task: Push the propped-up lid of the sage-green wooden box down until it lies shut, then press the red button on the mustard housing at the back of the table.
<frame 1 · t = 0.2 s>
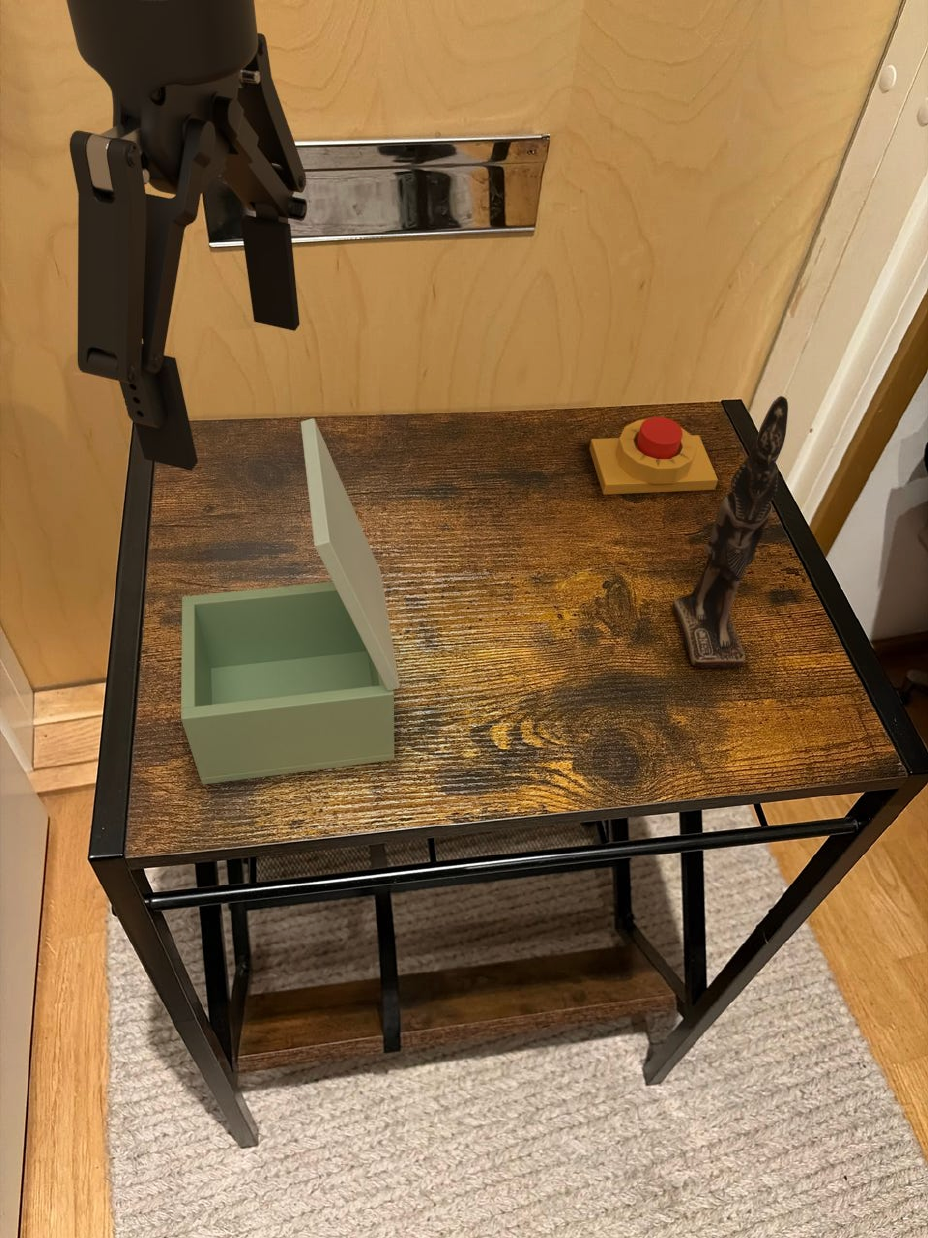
hand: (228, 387, 54), 21 cm above the table, tool pointing down, fingers open, 13 cm apart
hatch lid: (352, 560, 54), point 15 cm above the table, hinge at 75.0°
statue: (703, 637, 72), on the table
hatch box: (294, 712, 65), on the table
button block: (650, 469, 83), on the table
button: (659, 438, 81), point 4 cm above the table, slide at 0.2 cm
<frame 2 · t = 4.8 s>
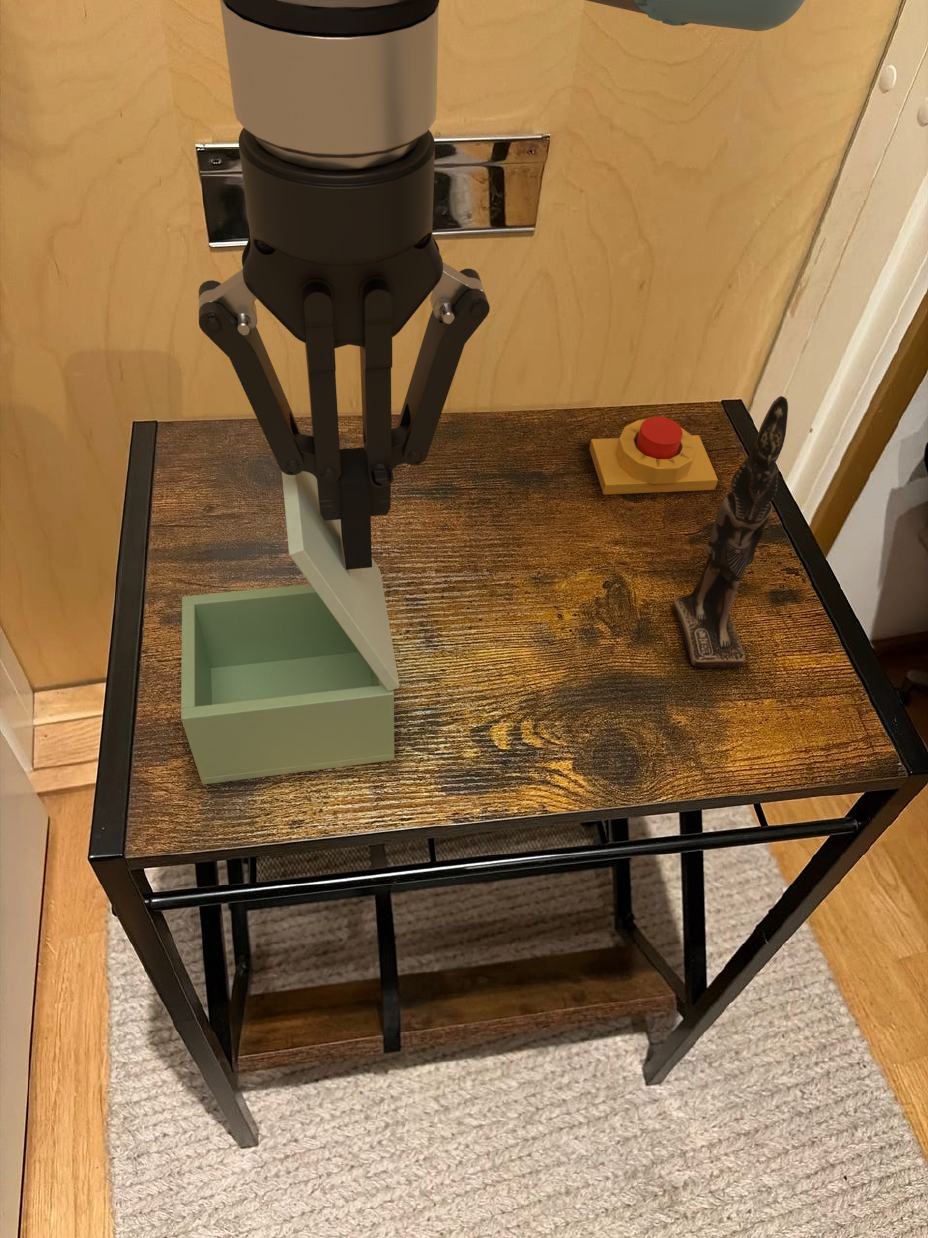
hand: (356, 551, 54), 15 cm above the table, tool pointing down, fingers closed
hatch lid: (341, 563, 55), point 15 cm above the table, hinge at 69.2°, touching gripper
everything else where it was.
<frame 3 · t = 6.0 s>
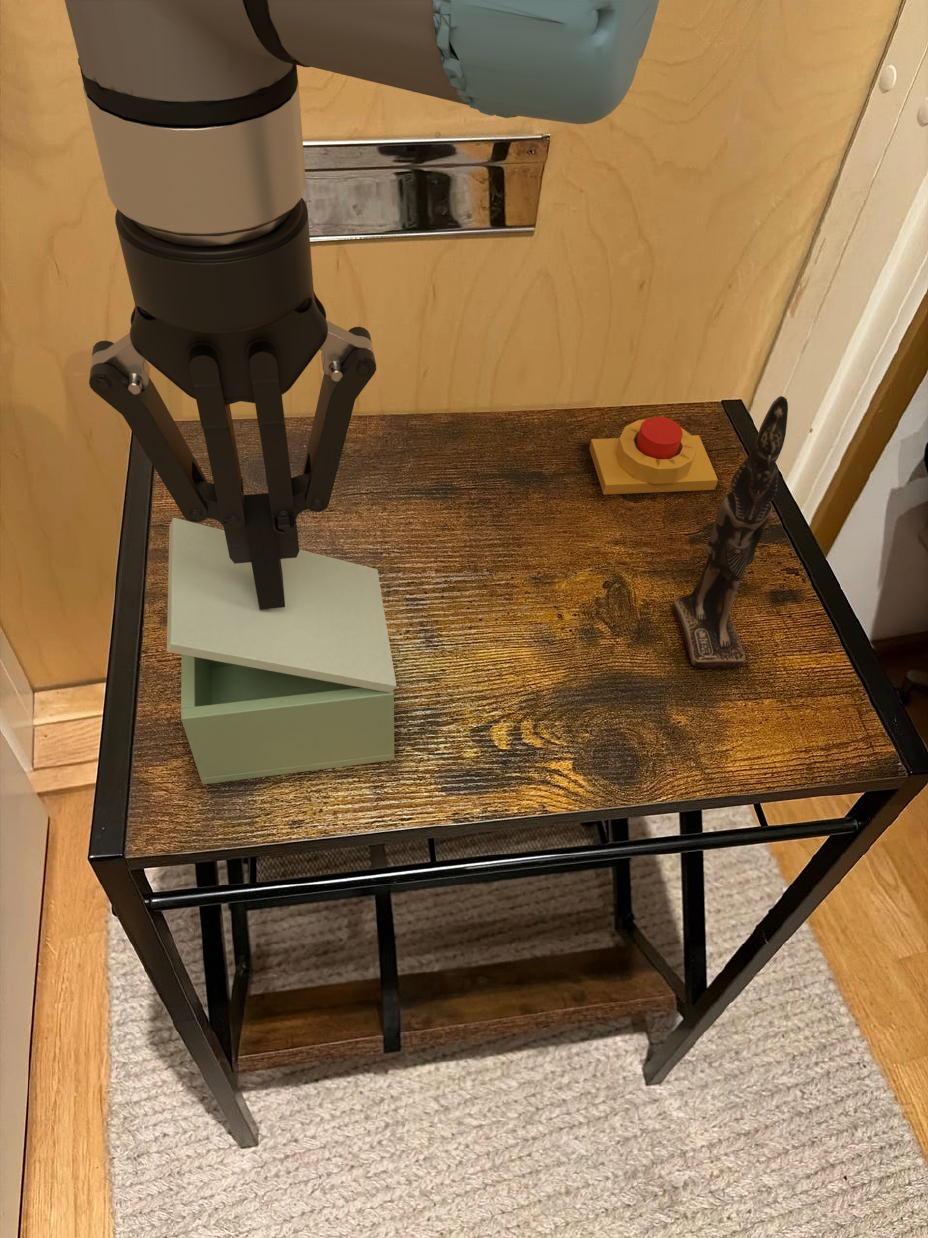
hand: (271, 590, 55), 13 cm above the table, tool pointing down, fingers closed
hatch lid: (283, 606, 56), point 11 cm above the table, hinge at 27.5°, touching gripper
everything else where it was.
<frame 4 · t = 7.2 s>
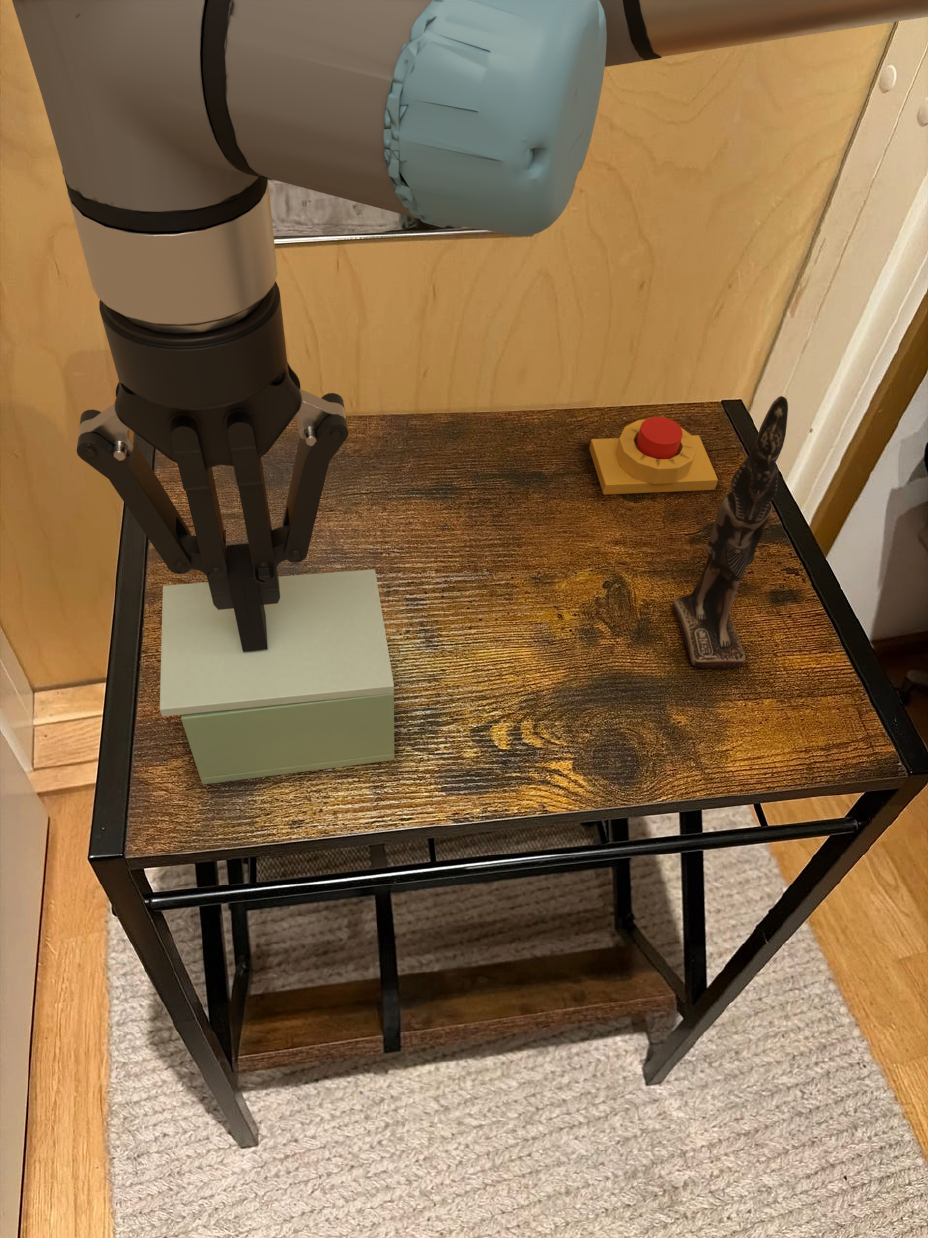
hand: (254, 633, 58), 9 cm above the table, tool pointing down, fingers closed
hatch lid: (275, 638, 59), point 8 cm above the table, hinge at 1.5°, touching gripper
everything else where it was.
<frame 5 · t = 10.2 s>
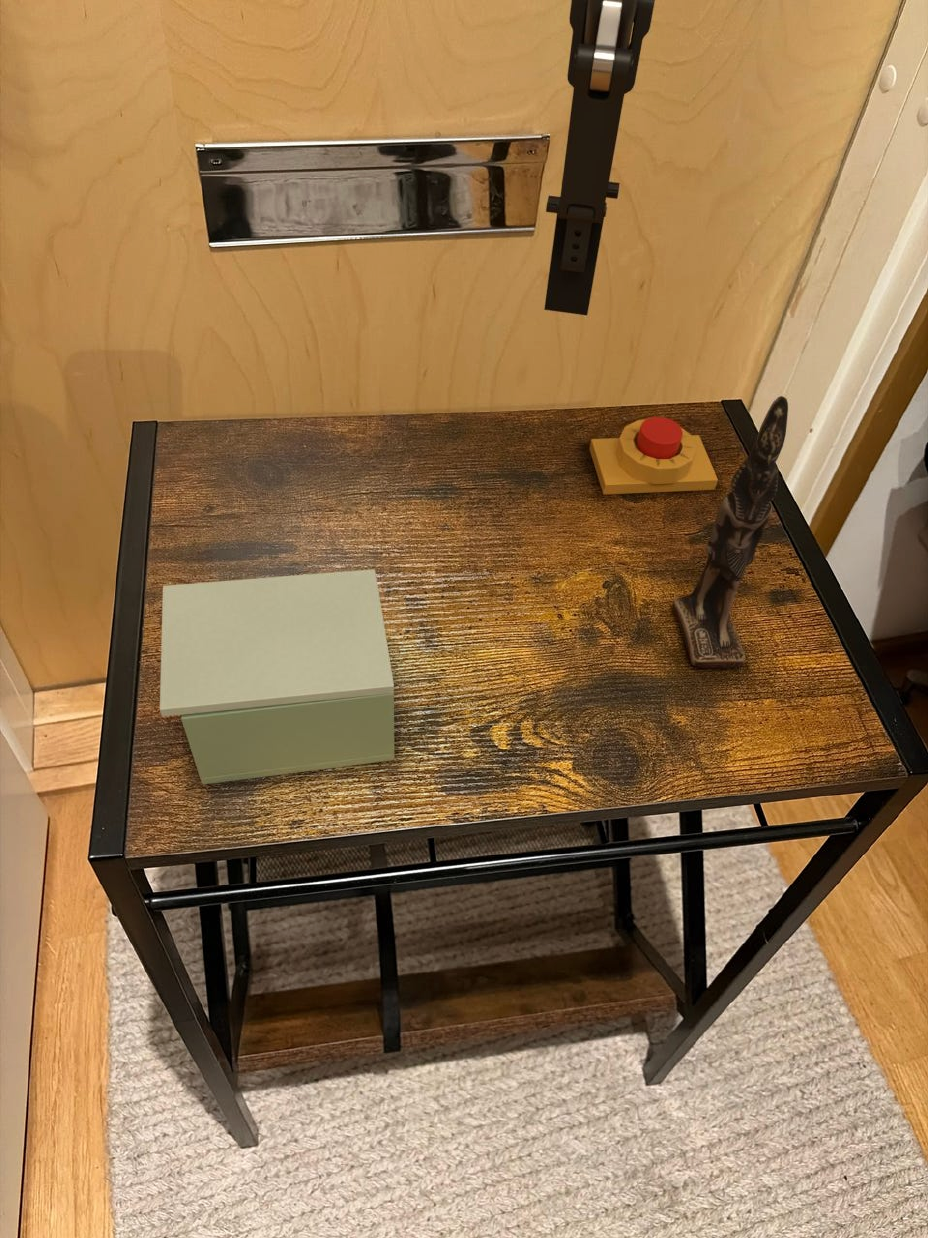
hand: (566, 305, 59), 22 cm above the table, tool pointing down, fingers closed
hatch lid: (275, 638, 59), point 8 cm above the table, hinge at 1.5°
everything else where it was.
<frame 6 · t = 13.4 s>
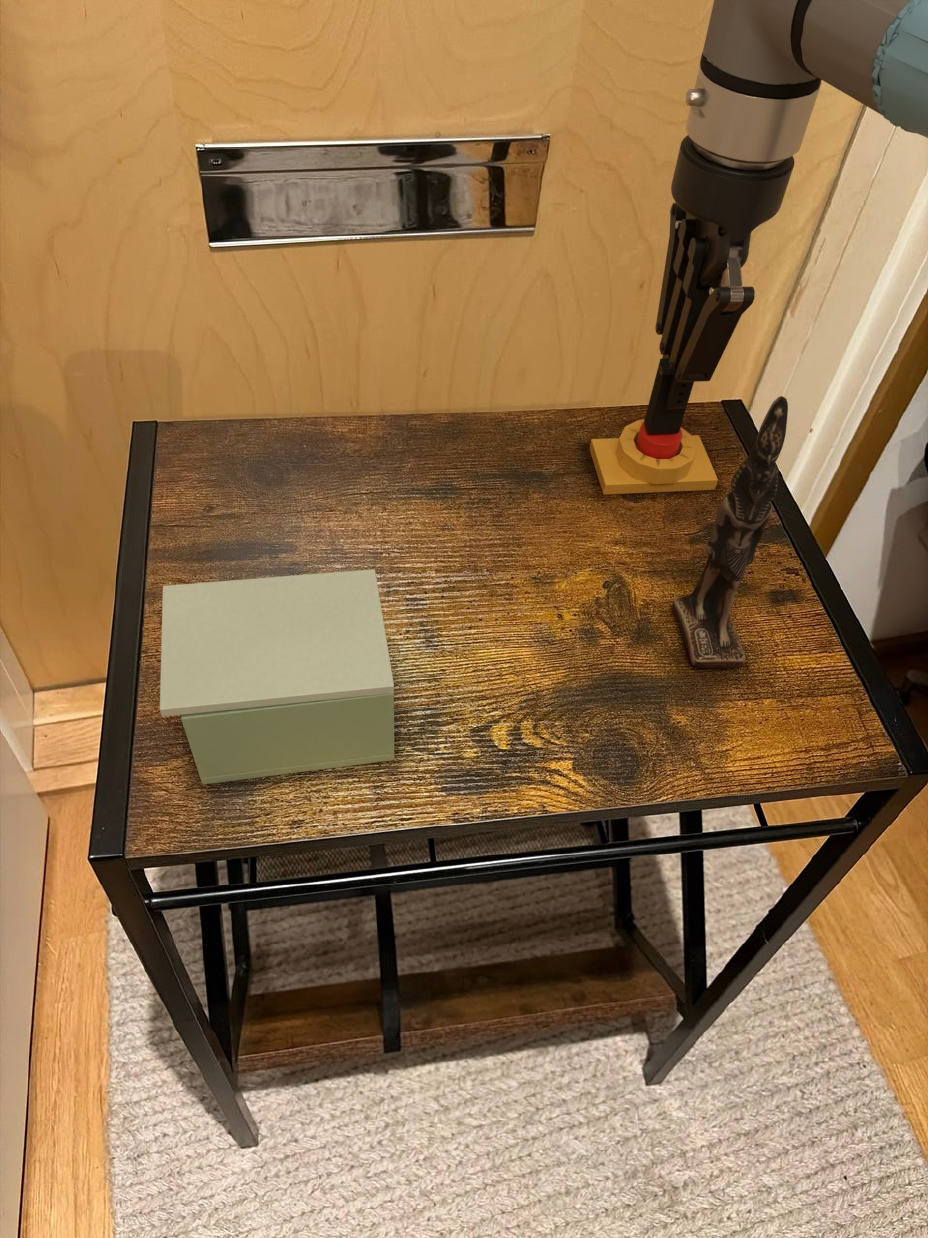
hand: (661, 427, 80), 5 cm above the table, tool pointing down, fingers closed
button: (659, 438, 81), point 3 cm above the table, slide at 0.0 cm, touching gripper
everything else where it was.
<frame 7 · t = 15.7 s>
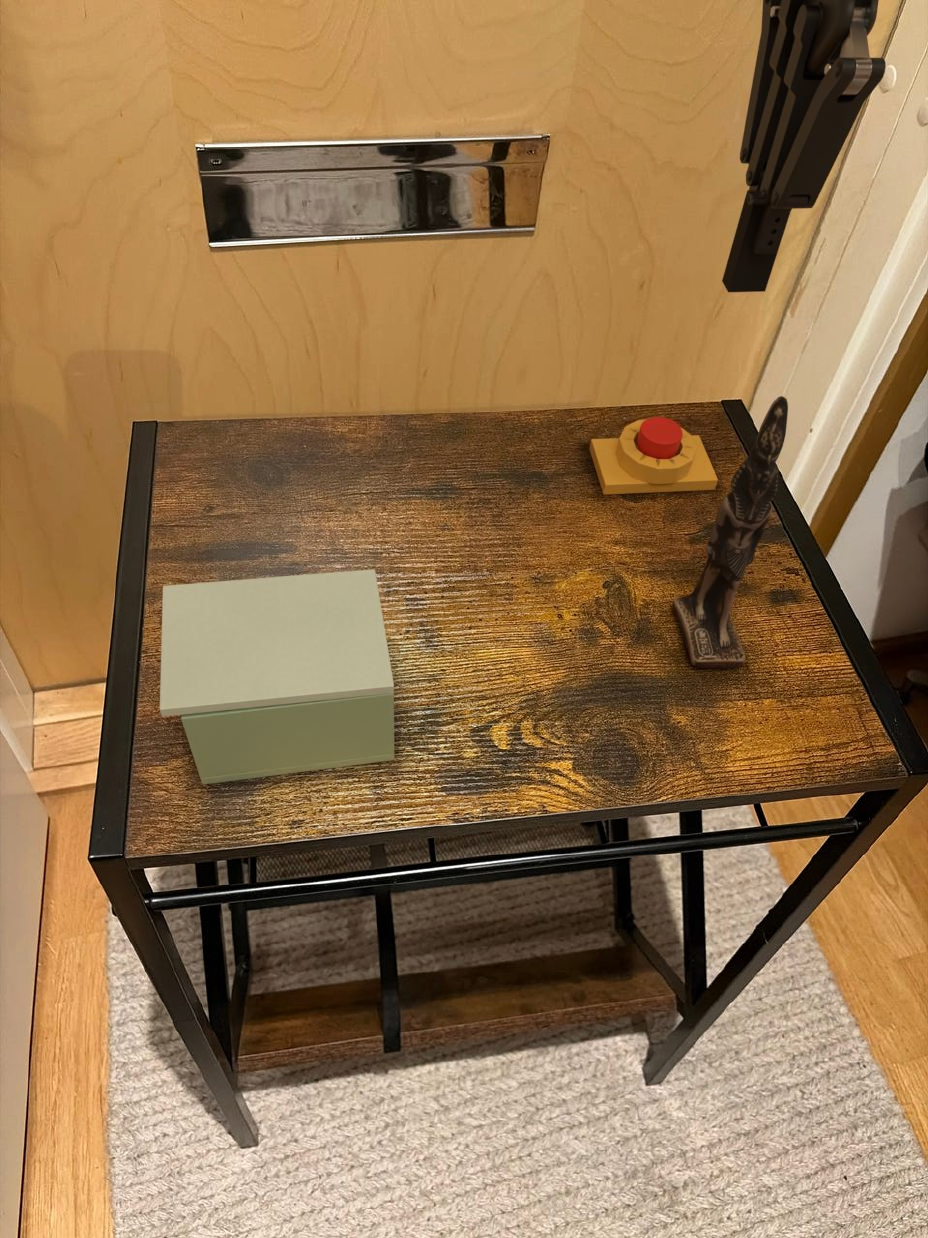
hand: (743, 285, 67), 20 cm above the table, tool pointing down, fingers closed
button: (659, 438, 81), point 4 cm above the table, slide at 0.1 cm
everything else where it was.
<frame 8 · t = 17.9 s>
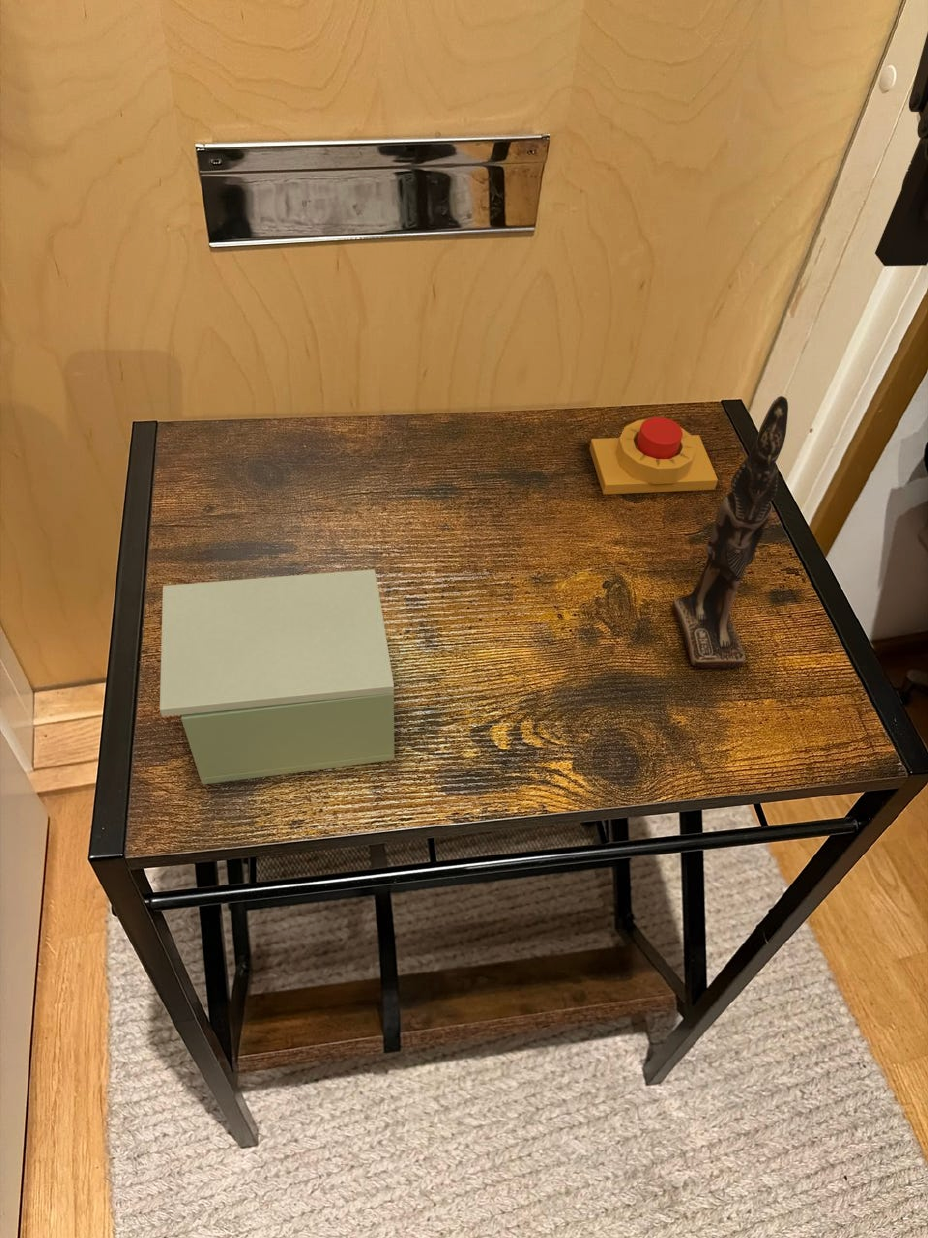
hand: (900, 258, 57), 26 cm above the table, tool pointing down, fingers closed
nothing on the table moved.
at the end: hatch lid at +2° (first picture: +75°); button pushed in 1.0 cm at the most during the clip, back to where it started at the end; button slide at 0.1 cm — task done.
